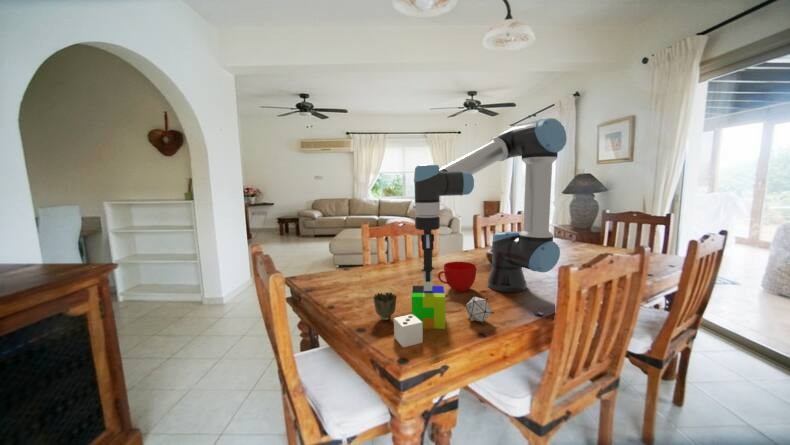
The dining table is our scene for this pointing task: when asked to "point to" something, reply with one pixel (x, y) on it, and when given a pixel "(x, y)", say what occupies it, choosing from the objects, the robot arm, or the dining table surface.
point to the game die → (478, 309)
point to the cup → (385, 305)
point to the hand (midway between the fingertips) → (428, 290)
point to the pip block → (408, 330)
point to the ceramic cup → (459, 275)
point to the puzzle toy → (429, 306)
